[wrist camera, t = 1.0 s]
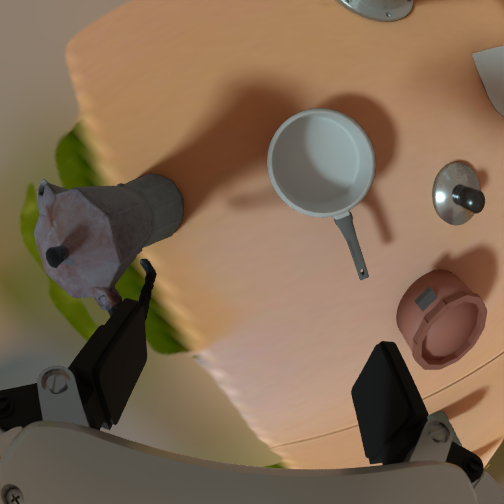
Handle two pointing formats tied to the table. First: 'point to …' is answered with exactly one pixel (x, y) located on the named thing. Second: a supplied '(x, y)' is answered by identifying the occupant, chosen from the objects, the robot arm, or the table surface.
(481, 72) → the toilet tissue
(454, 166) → the lid
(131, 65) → the table surface
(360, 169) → the saucepan
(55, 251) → the moka pot
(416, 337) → the pot
